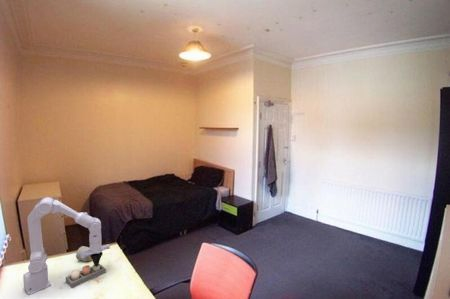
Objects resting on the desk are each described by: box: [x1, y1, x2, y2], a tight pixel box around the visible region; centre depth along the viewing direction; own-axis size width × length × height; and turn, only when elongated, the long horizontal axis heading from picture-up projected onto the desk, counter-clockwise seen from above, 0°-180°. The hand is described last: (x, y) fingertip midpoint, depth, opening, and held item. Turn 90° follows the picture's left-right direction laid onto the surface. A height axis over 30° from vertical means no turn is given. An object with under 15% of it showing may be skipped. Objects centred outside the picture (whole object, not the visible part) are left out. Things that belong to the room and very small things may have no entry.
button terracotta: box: [81, 264, 91, 276], centre depth 130 cm, size 4×4×4 cm
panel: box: [65, 264, 107, 289], centre depth 130 cm, size 17×8×2 cm, turn 142°
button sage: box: [92, 263, 101, 272], centre depth 134 cm, size 4×4×4 cm
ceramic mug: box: [75, 245, 93, 262], centre depth 149 cm, size 11×8×8 cm
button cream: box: [70, 269, 80, 281], centre depth 126 cm, size 4×4×4 cm
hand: (96, 265), depth 134 cm, fingers closed, pressing on button sage
